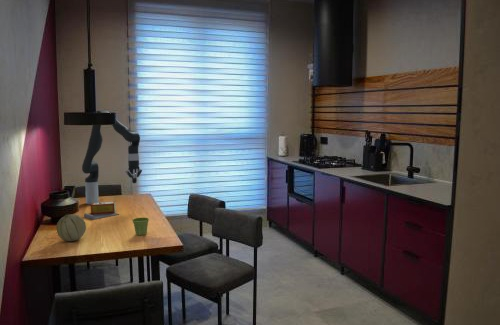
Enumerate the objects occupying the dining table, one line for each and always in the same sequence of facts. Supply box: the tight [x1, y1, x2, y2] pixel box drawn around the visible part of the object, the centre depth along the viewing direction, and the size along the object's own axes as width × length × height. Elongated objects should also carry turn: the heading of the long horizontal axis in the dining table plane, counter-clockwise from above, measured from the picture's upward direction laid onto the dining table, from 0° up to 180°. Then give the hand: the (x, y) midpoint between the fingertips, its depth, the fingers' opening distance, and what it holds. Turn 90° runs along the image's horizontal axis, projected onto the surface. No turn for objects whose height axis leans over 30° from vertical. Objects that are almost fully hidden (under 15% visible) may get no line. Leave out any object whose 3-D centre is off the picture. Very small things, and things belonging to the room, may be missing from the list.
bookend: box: [83, 212, 120, 221], centre depth 283 cm, size 12×19×2 cm, turn 139°
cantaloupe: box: [56, 213, 87, 242], centre depth 225 cm, size 15×15×15 cm
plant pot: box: [132, 217, 150, 236], centre depth 237 cm, size 9×9×9 cm
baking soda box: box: [90, 201, 117, 215], centre depth 292 cm, size 10×6×16 cm
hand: (134, 183), depth 303 cm, fingers closed
